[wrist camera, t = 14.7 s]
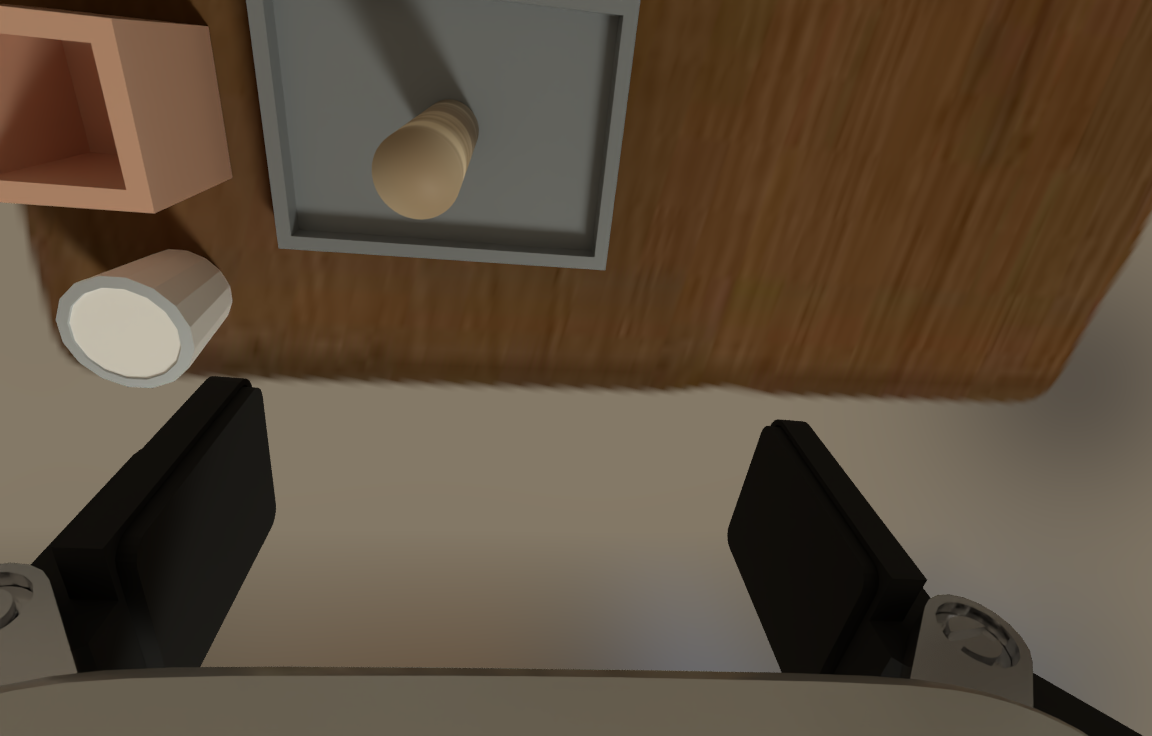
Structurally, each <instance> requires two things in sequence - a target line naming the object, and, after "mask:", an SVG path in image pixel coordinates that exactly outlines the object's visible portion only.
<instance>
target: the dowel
mask: <svg viewBox="0 0 1152 736" xmlns="http://www.w3.org/2000/svg"><path fill="white" fill-rule="evenodd" d="M478 135H479V127H478V122H477V119H476V117H475V115H474V113H473V112H472V111H471V109H470V108H469V107H467V106H466V105H465V104H463V103H462V102H460V101H457V100H452V99H445V100H441V101H438V102H437V103H435V104H433V105H432V106H431V107H429V108H428V109H426V110H425V111H423V112H422V113H421V114H419V115H418V116H416V117H415V118H414V119H412V120H411V121H409V122H408V123H407V124H405V125H404V126H402V127H401V128H399V129H398V130H397V131H395V132H394V133H392V134H391V135H390V136H388V137H387V138H386V139H384V140H383V142H382V143H381V144H380V145H379V147H378V148H377V150H376V152H375V154H374V157H373V161H372V178H373V183H374V185H375V188H376V190H377V192H378V194H379V196H380V197H381V199H382V200H383V201H384V202H385V204H387V205H388V206H389V207H390V208H391V209H392V210H394V211H395V212H397V213H398V214H400V215H403V216H405V217H408V218H412V219H430V218H434V217H436V216H439V215H441V214H442V213H444V212H445V211H447V210H448V209H449V208H450V207H451V206H452V204H453V203H454V202H455V200H456V198H457V196H458V194H459V191H460V188H461V185H462V182H463V180H464V177H465V174H466V171H467V168H468V165H469V162H470V160H471V157H472V154H473V151H474V148H475V145H476V143H477V140H478Z"/></svg>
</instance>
